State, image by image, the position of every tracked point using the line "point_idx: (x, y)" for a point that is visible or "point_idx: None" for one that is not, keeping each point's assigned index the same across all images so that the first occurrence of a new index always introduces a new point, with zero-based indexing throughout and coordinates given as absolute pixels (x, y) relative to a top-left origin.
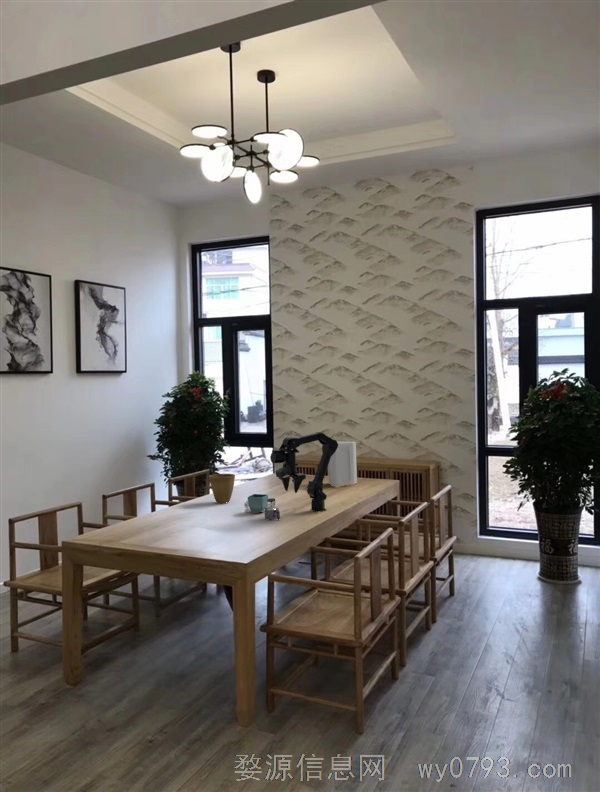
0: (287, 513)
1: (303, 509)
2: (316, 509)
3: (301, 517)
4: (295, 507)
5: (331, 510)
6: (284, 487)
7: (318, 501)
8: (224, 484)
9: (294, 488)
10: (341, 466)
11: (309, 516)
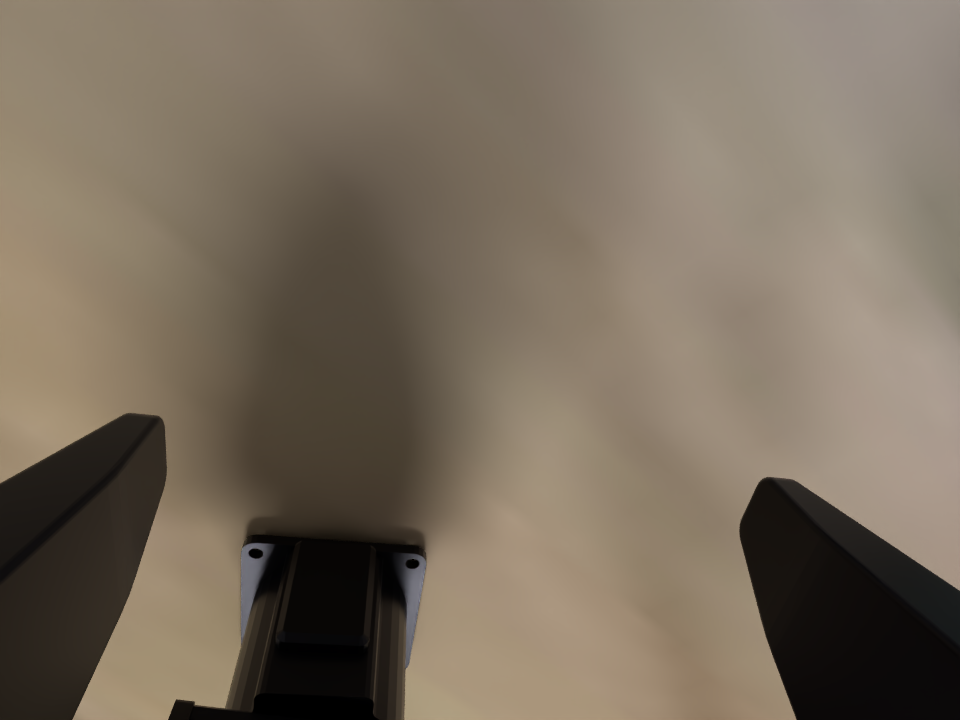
0: (588, 223)
1: (559, 541)
2: (283, 569)
3: (106, 125)
4: (743, 559)
5: (203, 676)
6: (899, 552)
7: (237, 696)
8: None
9: (38, 510)
10: None
11: (78, 274)
